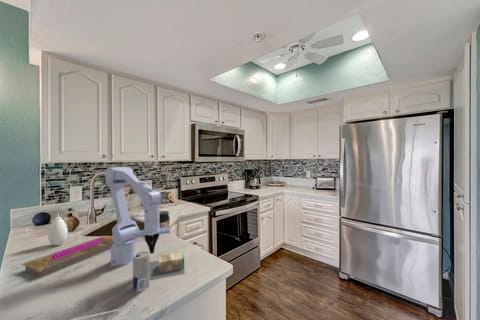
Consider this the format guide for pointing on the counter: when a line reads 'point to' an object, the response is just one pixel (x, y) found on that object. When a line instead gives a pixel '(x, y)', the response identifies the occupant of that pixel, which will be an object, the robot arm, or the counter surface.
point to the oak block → (171, 262)
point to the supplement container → (164, 219)
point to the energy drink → (141, 271)
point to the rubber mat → (156, 274)
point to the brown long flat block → (92, 245)
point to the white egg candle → (57, 231)
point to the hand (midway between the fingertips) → (152, 252)
